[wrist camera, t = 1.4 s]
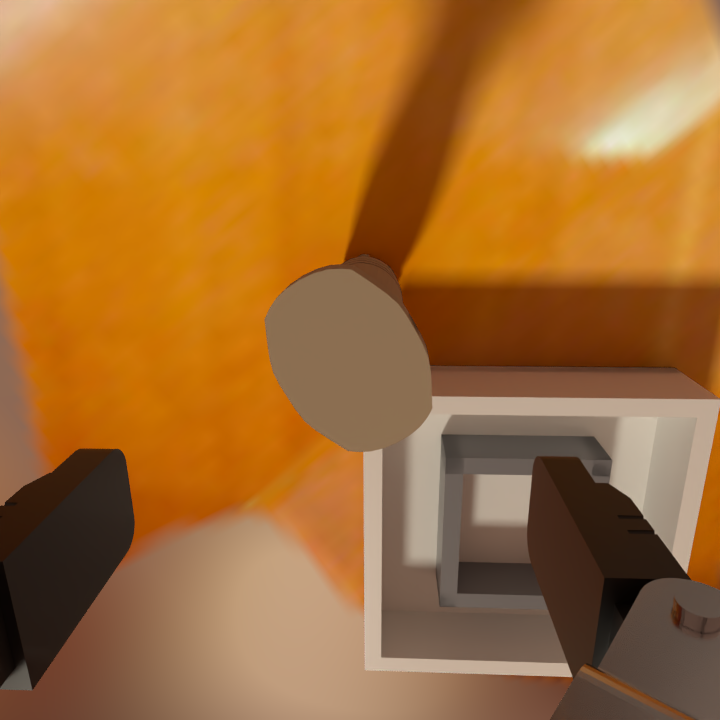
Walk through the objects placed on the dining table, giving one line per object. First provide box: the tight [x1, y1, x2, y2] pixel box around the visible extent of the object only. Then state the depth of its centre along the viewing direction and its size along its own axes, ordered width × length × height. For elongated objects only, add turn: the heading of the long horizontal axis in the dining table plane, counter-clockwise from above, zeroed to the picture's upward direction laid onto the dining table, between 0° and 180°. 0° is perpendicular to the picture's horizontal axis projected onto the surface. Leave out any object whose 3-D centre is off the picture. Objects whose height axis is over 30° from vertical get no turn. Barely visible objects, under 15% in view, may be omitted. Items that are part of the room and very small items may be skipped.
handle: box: [265, 254, 432, 452], centre depth 26 cm, size 5×6×15 cm
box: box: [364, 366, 720, 677], centre depth 35 cm, size 18×18×5 cm
